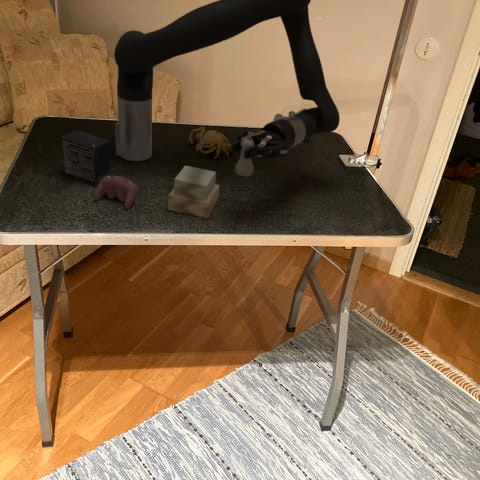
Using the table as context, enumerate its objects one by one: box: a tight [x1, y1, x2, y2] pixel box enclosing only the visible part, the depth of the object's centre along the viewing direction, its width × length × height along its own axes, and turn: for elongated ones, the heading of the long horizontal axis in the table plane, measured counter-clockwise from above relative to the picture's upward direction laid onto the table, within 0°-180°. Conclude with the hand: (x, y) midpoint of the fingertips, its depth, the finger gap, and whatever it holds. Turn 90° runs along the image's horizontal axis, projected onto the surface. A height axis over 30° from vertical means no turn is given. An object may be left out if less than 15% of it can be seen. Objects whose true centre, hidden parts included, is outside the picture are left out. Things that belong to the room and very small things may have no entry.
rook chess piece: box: [234, 138, 255, 177], centre depth 113 cm, size 4×4×8 cm
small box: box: [60, 130, 112, 186], centre depth 127 cm, size 11×6×10 cm, turn 65°
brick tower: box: [167, 165, 221, 219], centre depth 121 cm, size 10×10×8 cm
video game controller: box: [93, 175, 139, 210], centre depth 120 cm, size 10×5×7 cm, turn 72°
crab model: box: [188, 125, 232, 160], centre depth 151 cm, size 16×13×6 cm
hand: (238, 151), depth 110 cm, fingers closed on rook chess piece, 3 cm apart
